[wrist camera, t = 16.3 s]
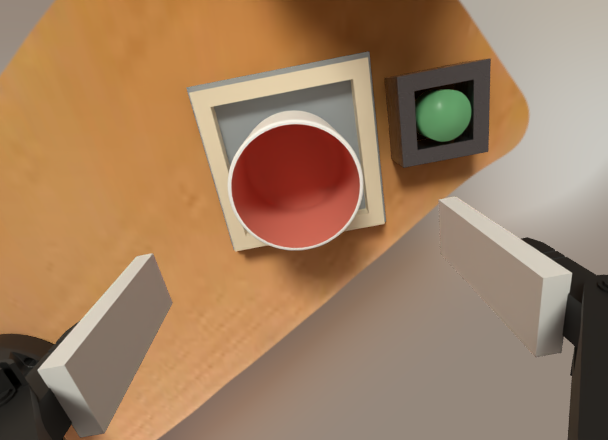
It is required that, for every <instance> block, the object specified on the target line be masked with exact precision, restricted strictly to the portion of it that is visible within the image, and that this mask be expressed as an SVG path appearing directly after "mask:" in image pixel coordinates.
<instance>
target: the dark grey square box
mask: <svg viewBox="0 0 608 440" xmlns="http://www.w3.org/2000/svg"><path fill="white" fill-rule="evenodd" d="M448 84H453V90H456V91H459V92H461V93H463V94H464V95H465V96H466V97H467V98H468V100H469V102H470V105H471V118H470V122H469V124H468V126H467V127H466V129H465V130H464V131H463V133H462V134H460V135H459V136H458V137H456V138H455V139H452V140H450V141H445V142H441V141H436V140H433V139H430V138H428V139H423V140H418V141H417V133H416V115H415V96H414V91H417V90H422V89H427V88H432V87H438V86H443V85H448ZM385 88H386V100H387V111H388V123H389V135H390V147H391V159H392V160H394V161H395V162H396V163H398V164H399V165H401V166H402V167H403V168H404V167H409V166H415V165H420V164H425V163H431V162H436V161H441V160H446V159H452V158H457V157H462V156H468V155H473V154H478V153H484V152H488V140H489V99H490V59H483V60H476V61H468V62H462V63H457V64H452V65H447V66H442V67H437V68H432V69H427V70H422V71H417V72H412V73H406V74H401V75H396V76H391V77H386V78H385Z"/></svg>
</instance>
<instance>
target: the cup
mask: <svg viewBox="0 0 608 440" xmlns="http://www.w3.org/2000/svg"><path fill="white" fill-rule="evenodd" d="M363 184H364V183H363V174H362V169H361V165H360V163H359V160H358V158H357V156H356V154H355V152H354V150H353V149H352V147H351V146H350V145H349V144H348V142H347V141H346V140H345V139H344V138H343V137H342V136H341V135H340V134H339V133H338V132H337V131H336V130H335V129H334V128H333V127H332V126H331V125H329V124H328V123H327V122H326V121H325V120H323V119H322V118H320V117H318V116H316V115H314V114H311V113H308V112H304V111H296V110H293V111H283V112H279V113H276V114H274V115H271V116H269V117H268V118H266V119H264V120H263V121H262V122H260V123H259V124H258V125H257V126H256V127H255V128H254V130H253V131H252V132H251V133H250V135H249V136H248V137H247V139H246V140H245V141H244V143H243V144H242V145H241V147H240V148H239V149H238V151H237V152H236V154H235V156H234V158H233V160H232V163H231V166H230V169H229V174H228V196H229V201H230V204H231V207H232V210H233V212H234V214H235V216H236V218H237V219H238V221H239V222H240V224H241V225H242V226H243V227H244V228H245V229H246V231H247V232H249V233H250V234H251V235H252V236H253V237H255V238H256V239H258V240H259V241H261V242H263V243H265V244H267V245H269V246H272V247H275V248H279V249H284V250H307V249H312V248H316V247H319V246H321V245H324V244H326V243H328V242H330V241H331V240H333V239H335V238H336V237H337V236H339V235H340V234H341V233H342V232H343V231H344V230H345V229H346V228H347V227H348V226H349V225H350V223H351V222H352V220H353V219H354V217H355V215H356V214H357V212H358V209H359V207H360V204H361V200H362V196H363Z"/></svg>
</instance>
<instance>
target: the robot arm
mask: <svg viewBox="0 0 608 440" xmlns="http://www.w3.org/2000/svg"><path fill="white" fill-rule="evenodd" d="M439 225H440V253H441V255H442V256H443V257H444V258H445V259H446V260H447V261H448V262H449V263H450V264H451V266H453V268H454V269H455V270H456V271H457V272H458V273H459V274H460V275H461V276H462V278H463V279H464V280H465V281H466V282H467V283H468V284H469V285H470V286H471V287H472V289H473V290H474V291H475V292H476V293H477V294H478V295H479V296H480V297H481V298H482V299H483V301H484V302H485V303H486V304H487V305H488V306H489V307H490V308H491V309H492V310H493V311H494V313H495V314H496V315H497V316H498V317H499V318H500V319H501V320H502V321H503V322H504V323H505V324H506V326H507V327H508V328H509V329H510V330H511V331H512V332H513V333H514V334H515V335H516V337H517V338H518V339H519V340H520V341H521V342H522V343H523V344H524V345H525V346H526V347H527V349H528V350H529V351H530V352H531V353H532V354H533V355H534V356H535V357H540V356H546V355H551V354H557V353H561V351H562V345H563V337H565V338H566V339H568V340H569V341H570V342H571V343H572V344H573V345H574V346H575V347H574V354H573V360H572V367H571V374H570V375H571V376H572V383H571V399H570V413H569V428H568V440H608V275H595V274H594V273H592V272H590V271H589V270H587V269H585V268H584V267H582V266H581V265H579V264H577V263H576V262H574V261H572V260H571V259H569V258H567V257H565V256H564V255H563V254H561V253H559V252H558V251H555V250H554V249H553V248H551V247H550V246H548V245H546V244H544V243H543V242H540V241H537V240H534V239H530V238H523V239H520V238H518V237H516V236H515V235H513V234H512V233H510V232H509V231H507V230H506V229H504V228H503V227H501V226H500V225H498V224H497V223H495V222H494V221H492V220H491V219H489V218H488V217H486V216H485V215H483V214H482V213H480V212H478V211H477V210H475V209H474V208H472V207H471V206H469V205H468V204H466V203H465V202H463V201H462V200H460V199H459V198H457V197H456V196H455V197H450V198H444V199H439ZM171 305H172V300H171V298H170V295H169V293H168V290H167V287H166V285H165V282H164V280H163V277H162V275H161V272H160V270H159V267H158V265H157V262H156V260H155V257H154V255H153V253H152V254H147V255H141V256H137V257H136V258H135V259H134V260H133V261H132V262H131V263H130V265H129V266H128V267H127V268H126V269H125V270H124V271H123V273H122V274H121V275H120V276H119V277H118V278H117V279H116V281H115V282H114V283H113V284H112V285H111V286H110V287H109V289H108V290H107V291H106V292H105V293H104V294H103V295H102V297H101V298H100V299H99V300H98V301H97V302H96V303H95V305H94V306H93V307H92V308H91V309H90V310H89V311H88V313H87V314H86V315H85V316H84V317H83V318H82V319H81V321H79V322H78V323H76V324H75V325H74V326H72V327H71V328H70V329H68V330H67V331H66V332H65V333H64V334H63V335H62V336H61V337H60V338H59V339H58V341H57V342H56V344H54V345H53V344H51V343H49V342H47V341H44V340H41V339H38V338H35V337H31V336H27V335H20V334H1V335H0V440H66V439H65V438H64V435H65V434H66V432H67V431H68V429H69V427H70V426H71V424H72V426H73V427H74V429H75V430H76V432H77V434H78V435H79V437H80V438H81V437H87V436H92V435H98V434H104V433H105V431H106V430H107V428H108V426H109V424H110V422H111V420H112V418H113V416H114V414H115V412H116V410H117V408H118V407H119V405H120V403H121V401H122V399H123V397H124V395H125V393H126V391H127V389H128V387H129V385H130V384H131V382H132V380H133V378H134V376H135V374H136V372H137V370H138V368H139V366H140V364H141V362H142V361H143V359H144V357H145V355H146V353H147V351H148V349H149V347H150V345H151V343H152V341H153V339H154V338H155V336H156V334H157V332H158V330H159V328H160V326H161V324H162V322H163V320H164V318H165V316H166V315H167V313H168V311H169V309H170V307H171Z"/></svg>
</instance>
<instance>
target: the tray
mask: <svg viewBox="0 0 608 440" xmlns="http://www.w3.org/2000/svg"><path fill="white" fill-rule="evenodd" d="M187 91H188V95H189V98H190V102H191V105H192V109H193V112H194V115H195V119H196V122H197V126H198V129H199V132H200V136H201V139H202V143H203V146H204V149H205V153H206V156H207V160H208V163H209V167H210V170H211V173H212V177H213V180H214V184H215V187H216V190H217V194H218V197H219V201H220V204H221V207H222V211H223V214H224V218H225V221H226V225H227V228H228V231H229V235H230V238H231V242H232V245H233V248H234V250H235V251H240V250H245V249H251V248H256V247H262V246H267V244H265V243H263V242H261V241H259V240H258V239H256V238H255V237H253V236H252V235H251V234H250V233H249V232H247V231H246V229H245V228H244V227H243V226H242V225H241V224H240V222H239V221H238V219H237V218H236V216H235V214H234V212H233V210H232V207H231V204H230V201H229V196H228V174H229V169H230V166H231V163H232V160H233V158H234V156H235V154H236V152H237V151H238V149H239V148H240V147H241V145H242V144H243V143H244V141H245V140H246V139H247V137H248V136H249V135H250V133H251V132H252V131H253V130H254V128H255V127H256V126H257V125H258V124H259V123H260V122H262V121H263V120H264V119H266V118H268V117H269V116H271V115H274V114H276V113H279V112H283V111H293V110H296V111H304V112H308V113H311V114H314V115H316V116H318V117H320V118H322V119H323V120H325V121H326V122H327V123H328V124H329V125H331V126H332V127H333V128H334V129H335V130H336V131H337V132H338V133H339V134H340V135H341V136H342V137H343V138H344V139H345V140H346V141H347V142H348V144H349V145H350V146H351V147H352V149H353V150H354V152H355V154H356V156H357V158H358V160H359V163H360V165H361V169H362V174H363V183H364V184H363V196H362V200H361V204H360V207H359V209H358V212H357V214H356V215H355V217H354V219H353V220H352V222H351V223H350V225H349V226H348V227H347V228H346V229H345V230H344V231H348V230H354V229H359V228H365V227H370V226H376V225H381V224H385V222H386V217H385V207H384V197H383V186H382V176H381V166H380V156H379V146H378V135H377V125H376V115H375V105H374V95H373V85H372V74H371V64H370V54H369V51H368V52H363V53H358V54H353V55H348V56H343V57H338V58H333V59H328V60H323V61H318V62H313V63H308V64H303V65H298V66H293V67H288V68H283V69H278V70H273V71H268V72H263V73H258V74H253V75H247V76H242V77H237V78H232V79H227V80H222V81H217V82H212V83H207V84H202V85H197V86H192V87H187Z"/></svg>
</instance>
